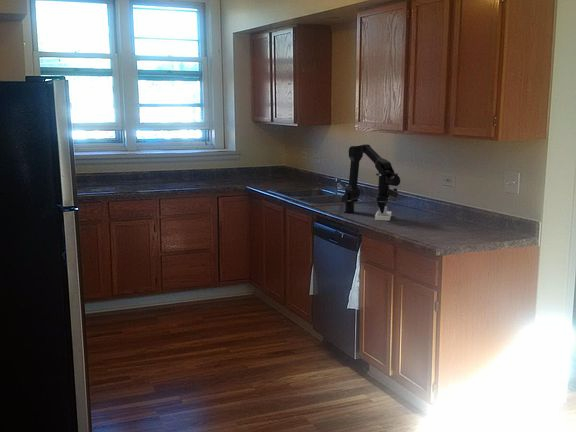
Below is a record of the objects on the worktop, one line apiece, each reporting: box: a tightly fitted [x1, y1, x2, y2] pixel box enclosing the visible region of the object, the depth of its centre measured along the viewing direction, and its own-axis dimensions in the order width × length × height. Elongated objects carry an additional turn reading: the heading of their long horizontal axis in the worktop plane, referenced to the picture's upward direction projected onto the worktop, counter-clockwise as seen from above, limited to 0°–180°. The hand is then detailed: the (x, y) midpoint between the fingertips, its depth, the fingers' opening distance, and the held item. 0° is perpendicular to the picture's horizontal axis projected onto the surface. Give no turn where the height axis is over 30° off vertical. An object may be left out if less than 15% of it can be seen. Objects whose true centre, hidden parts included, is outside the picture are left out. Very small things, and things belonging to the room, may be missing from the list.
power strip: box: [374, 210, 392, 221], centre depth 365 cm, size 16×8×3 cm, turn 168°
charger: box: [378, 206, 388, 216], centre depth 361 cm, size 4×4×7 cm
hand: (382, 212), depth 361 cm, fingers open, 9 cm apart
